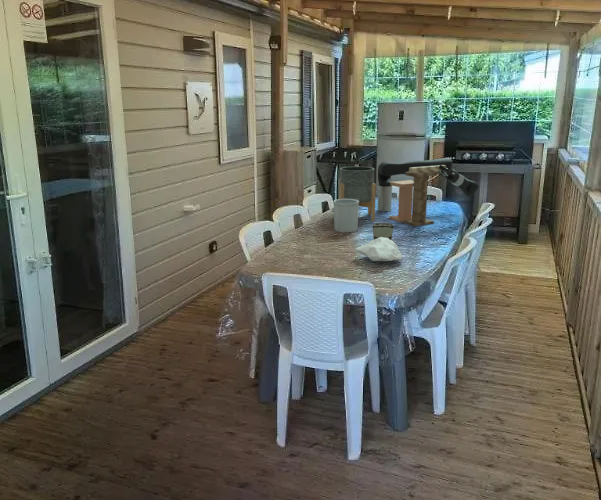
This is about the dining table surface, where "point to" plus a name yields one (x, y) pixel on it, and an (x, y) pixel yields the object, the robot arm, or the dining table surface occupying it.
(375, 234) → the food container
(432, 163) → the robot arm
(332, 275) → the dining table surface
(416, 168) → the beech bar
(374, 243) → the crumpled cloth
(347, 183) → the planter
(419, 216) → the walnut base stand
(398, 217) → the terracotta base stand
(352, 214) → the utensil holder
